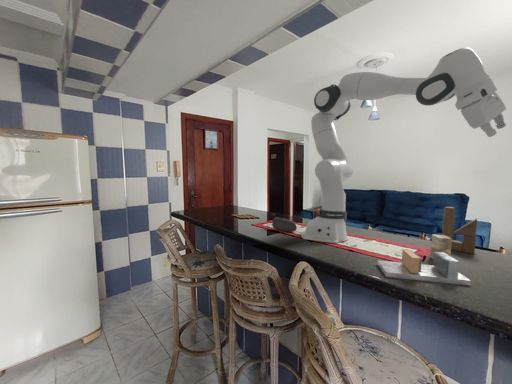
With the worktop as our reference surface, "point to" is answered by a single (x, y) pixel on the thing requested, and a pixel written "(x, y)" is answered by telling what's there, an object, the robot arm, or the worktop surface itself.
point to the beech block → (441, 244)
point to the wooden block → (459, 232)
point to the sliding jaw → (411, 261)
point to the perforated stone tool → (283, 224)
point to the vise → (428, 270)
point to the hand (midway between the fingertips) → (497, 131)
